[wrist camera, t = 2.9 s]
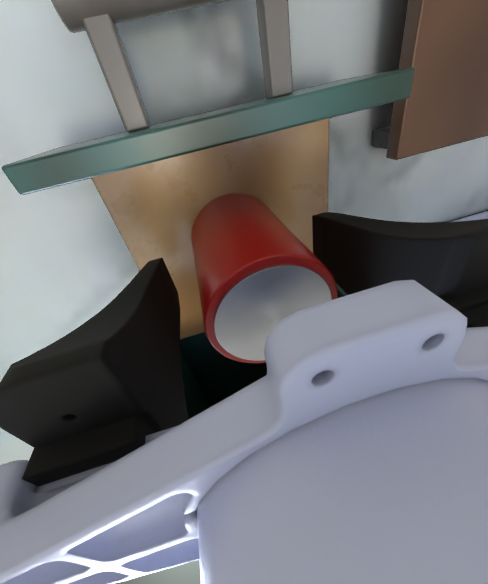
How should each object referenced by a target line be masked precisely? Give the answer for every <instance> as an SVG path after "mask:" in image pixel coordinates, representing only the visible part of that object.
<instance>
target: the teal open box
mask: <svg viewBox="0 0 488 584" xmlns="http://www.w3.org/2000/svg"><path fill="white" fill-rule="evenodd" d="M336 285H337V290H338V298H340V297H344V296H347V294H346V293H345V292H344V291H343V290H342V289H341V288H340V286H339V285H338V284H337V283H336ZM180 358H181V368H182V377H183V384H184V392H185V399H186V406H187V413H188V420H189V419H190V418H192V417H194V416H196V415H197V414H199V413H201V412H203V411H204V410H206V409H208V408H210V407H211V406H213V405H215V404H217V403H218V402H220V401H222V400H224V399H226V398H227V397H229V396H231V395H233V394H234V393H236V392H238V391H240V390H241V389H243V388H245V387H247V386H248V385H250V384H252V383H254V382H255V381H257V380H259V379H261V378H262V377H264V376H266V374H267V365H266V363H244V362H239V361H235V360H232V359H230V358H228V357H225V356H224V355H222V354H221V353H219V352H218V351H217V350H216V349H215V348H214V347H213V346H212V344H211V343H210V342H209V340H208V338H207V336H206V333H205V332H203V333H199V334H196V335H193V336H190V337H186V338H183V339H180Z"/></svg>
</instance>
